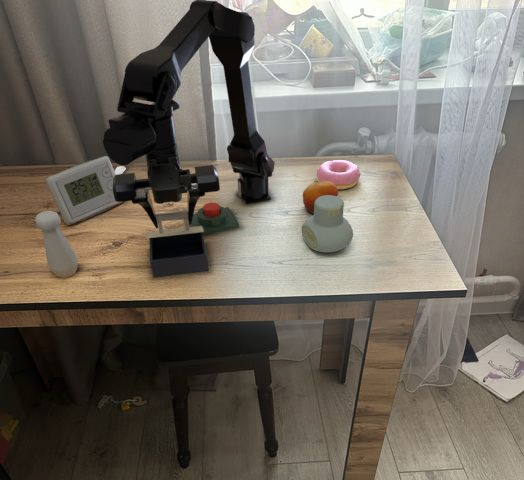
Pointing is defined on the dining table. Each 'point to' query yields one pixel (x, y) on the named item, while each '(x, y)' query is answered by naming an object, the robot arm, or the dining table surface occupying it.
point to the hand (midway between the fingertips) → (173, 225)
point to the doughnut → (339, 173)
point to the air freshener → (327, 226)
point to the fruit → (318, 193)
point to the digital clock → (83, 190)
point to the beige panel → (173, 231)
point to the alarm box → (215, 221)
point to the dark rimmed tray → (178, 254)
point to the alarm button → (211, 209)
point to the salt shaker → (56, 245)
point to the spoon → (120, 170)
